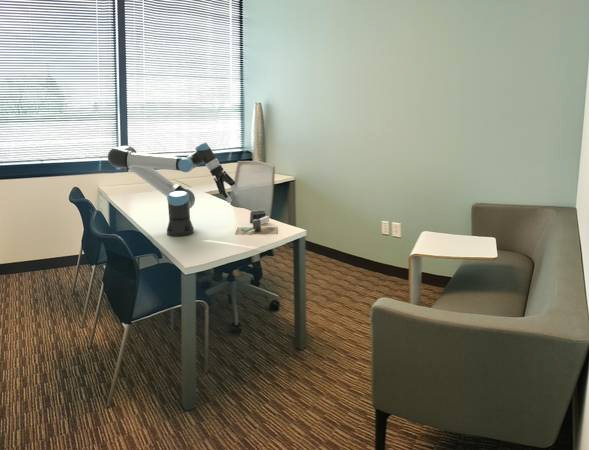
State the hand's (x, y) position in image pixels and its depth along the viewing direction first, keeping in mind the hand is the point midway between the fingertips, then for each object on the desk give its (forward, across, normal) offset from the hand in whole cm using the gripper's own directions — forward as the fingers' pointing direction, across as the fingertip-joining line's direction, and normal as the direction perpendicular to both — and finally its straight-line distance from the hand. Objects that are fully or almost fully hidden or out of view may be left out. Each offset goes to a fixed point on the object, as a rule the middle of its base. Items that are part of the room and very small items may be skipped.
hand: (234, 198), depth 289 cm
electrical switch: (+22, +7, -1) cm, 23 cm away
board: (+22, -12, -6) cm, 26 cm away
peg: (+21, -11, -7) cm, 25 cm away
